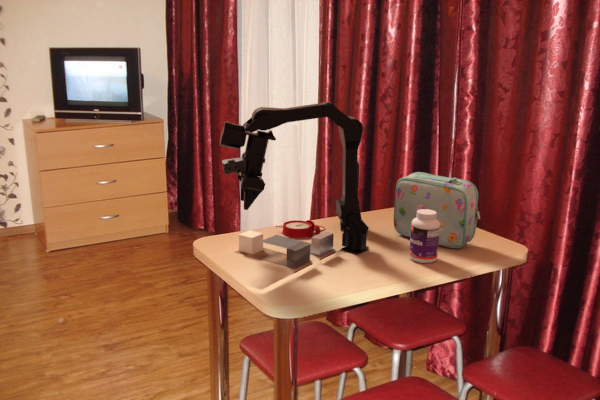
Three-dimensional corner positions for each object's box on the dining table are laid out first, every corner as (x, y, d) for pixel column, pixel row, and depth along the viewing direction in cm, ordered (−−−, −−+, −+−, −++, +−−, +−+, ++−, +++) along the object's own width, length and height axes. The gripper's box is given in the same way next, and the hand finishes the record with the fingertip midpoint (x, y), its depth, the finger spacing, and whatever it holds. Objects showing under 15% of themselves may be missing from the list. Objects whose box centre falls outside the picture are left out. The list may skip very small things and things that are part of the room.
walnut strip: (312, 264, 178) (312, 243, 176) (295, 272, 171) (295, 251, 170) (251, 247, 190) (251, 228, 188) (234, 255, 184) (233, 235, 182)
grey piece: (335, 252, 187) (335, 233, 185) (320, 260, 181) (320, 240, 179) (276, 237, 199) (276, 219, 198) (260, 244, 193) (260, 225, 191)
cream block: (263, 249, 185) (263, 233, 184) (252, 254, 181) (252, 237, 180) (249, 246, 188) (249, 230, 187) (238, 250, 184) (238, 234, 183)
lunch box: (481, 246, 195) (487, 178, 189) (466, 254, 188) (472, 184, 182) (406, 227, 212) (410, 165, 206) (389, 235, 204) (393, 170, 198)
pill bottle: (403, 256, 185) (406, 209, 181) (426, 253, 188) (430, 206, 184) (419, 266, 178) (422, 216, 174) (442, 262, 181) (446, 214, 177)
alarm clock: (272, 223, 203) (315, 209, 207) (276, 240, 205) (318, 226, 209) (284, 232, 194) (328, 217, 198) (288, 251, 196) (331, 235, 200)
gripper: (224, 140, 185) (214, 191, 188) (229, 153, 167) (218, 209, 170) (261, 148, 187) (250, 198, 191) (270, 161, 170) (258, 216, 173)
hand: (243, 205), depth 181 cm, fingers open, 9 cm apart
